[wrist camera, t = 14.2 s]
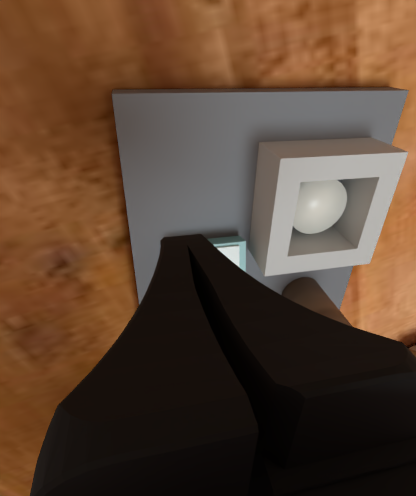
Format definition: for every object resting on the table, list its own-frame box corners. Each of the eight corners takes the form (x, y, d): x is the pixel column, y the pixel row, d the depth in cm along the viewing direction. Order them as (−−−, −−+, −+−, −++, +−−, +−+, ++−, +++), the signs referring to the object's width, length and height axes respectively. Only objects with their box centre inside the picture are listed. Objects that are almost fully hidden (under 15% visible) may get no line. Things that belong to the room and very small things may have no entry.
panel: (326, 310, 29) (355, 350, 25) (144, 338, 26) (147, 387, 22) (390, 87, 19) (453, 98, 16) (112, 89, 16) (109, 104, 13)
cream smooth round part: (326, 220, 22) (339, 231, 20) (276, 224, 21) (285, 236, 20) (339, 167, 20) (353, 176, 18) (284, 170, 19) (295, 179, 18)
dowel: (315, 303, 26) (370, 378, 20) (280, 310, 25) (325, 389, 20) (320, 273, 24) (381, 346, 18) (282, 280, 24) (333, 357, 18)
